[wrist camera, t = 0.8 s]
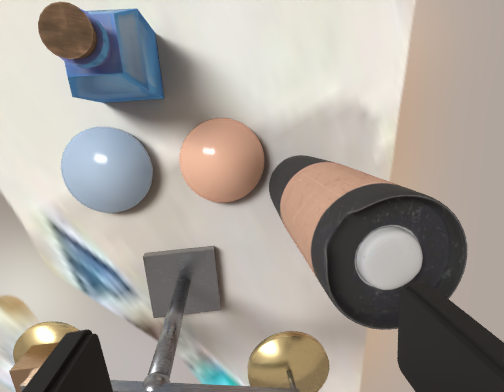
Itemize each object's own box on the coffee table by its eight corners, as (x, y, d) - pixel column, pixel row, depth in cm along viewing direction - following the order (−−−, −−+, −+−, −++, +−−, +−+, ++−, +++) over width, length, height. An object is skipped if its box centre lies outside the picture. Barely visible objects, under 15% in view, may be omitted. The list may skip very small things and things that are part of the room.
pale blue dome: (58, 130, 30) (51, 130, 29) (147, 123, 31) (144, 123, 30) (77, 213, 32) (71, 216, 31) (159, 205, 33) (157, 208, 32)
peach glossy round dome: (176, 121, 31) (174, 121, 30) (260, 115, 32) (261, 115, 30) (186, 203, 33) (185, 206, 32) (265, 196, 34) (266, 198, 33)
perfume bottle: (103, 102, 30) (25, 87, 18) (90, 36, 28) (-2, -26, 17) (164, 98, 30) (126, 81, 19) (155, 33, 29) (108, -30, 17)
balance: (68, 261, 33) (-101, 407, 16) (285, 238, 35) (344, 348, 18) (83, 321, 35) (-54, 510, 18) (288, 297, 37) (344, 448, 20)
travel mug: (336, 207, 35) (475, 309, 16) (274, 224, 35) (338, 349, 15) (324, 144, 33) (465, 171, 14) (259, 162, 33) (308, 215, 13)
